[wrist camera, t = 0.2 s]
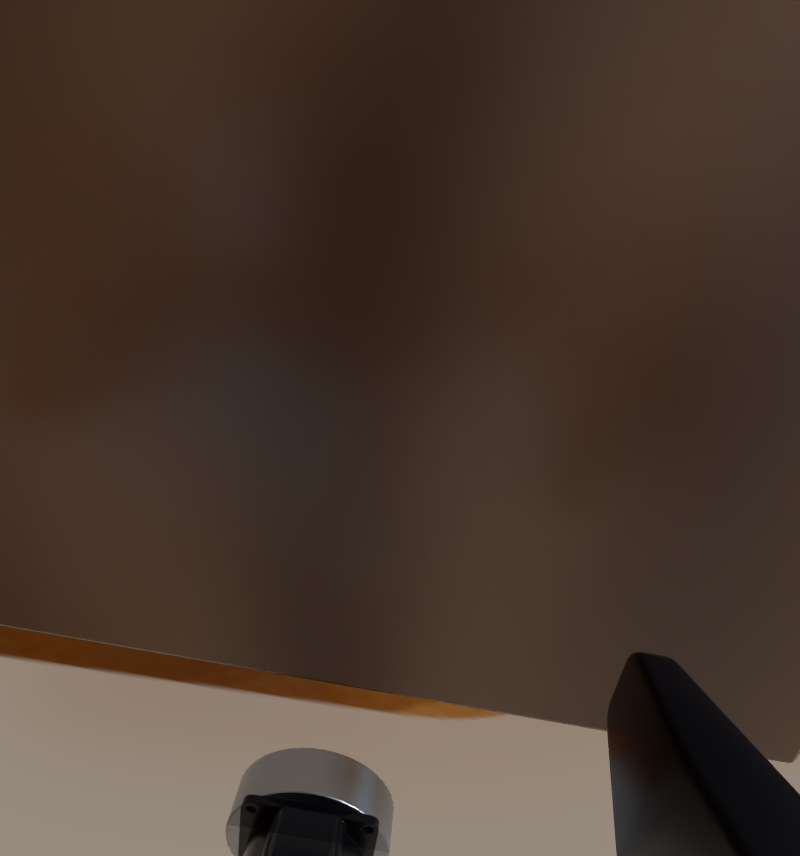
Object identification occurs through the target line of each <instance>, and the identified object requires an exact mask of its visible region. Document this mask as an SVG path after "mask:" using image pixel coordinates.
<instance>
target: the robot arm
mask: <svg viewBox="0 0 800 856" xmlns="http://www.w3.org/2000/svg"><path fill="white" fill-rule="evenodd" d="M607 732H608V746H609V760H610V772H611V785H612V797H613V798H612V799H613V813H614V825H615V839H616V851H617V856H800V794H799V793H798V792H797V791H796V790H795V789H794V788H793V787H792V786H791V785H790V784H789V783H788V782H787V780H786V779H785V778H784V777H783V776H782V775H781V774H780V773H779V772H778V771H777V770H776V769H775V768H774V767H773V765H772V764H771V763H770V762H769V761H768V760H767V759H766V758H765V757H764V756H763V755H762V753H761V752H760V751H759V750H758V749H757V748H756V747H755V746H754V745H753V744H752V743H751V742H750V741H749V739H748V738H747V737H746V736H745V735H744V734H743V733H742V732H741V731H740V730H739V729H738V728H737V727H736V725H735V724H734V723H733V722H732V721H731V720H730V719H729V718H728V717H727V716H726V715H725V714H724V712H723V711H722V710H721V709H720V708H719V707H718V706H717V705H716V704H715V703H714V702H713V701H712V700H711V698H710V697H709V696H708V695H707V694H706V693H705V692H704V691H703V690H702V689H701V688H700V687H699V686H698V684H697V683H696V682H695V681H694V680H693V679H692V678H691V677H690V676H689V675H688V674H687V673H686V672H685V670H684V669H683V668H682V667H681V666H680V665H679V664H678V663H677V662H676V661H675V660H673V659H672V658H670V657H667V656H662V655H656V654H650V653H644V652H634V653H632V654H631V655H630V656H629V657H628V659H627V661H626V663H625V666H624V668H623V671H622V673H621V676H620V678H619V681H618V683H617V686H616V688H615V691H614V693H613V696H612V698H611V701H610V704H609V708H608V714H607ZM378 832H379V820H378V819H377V818H376V817H375V816H372V815H367V814H361V813H356V812H350V811H344V810H339V809H333V808H327V807H322V806H316V805H310V804H305V803H299V802H294V801H288V800H282V799H277V798H271V797H265V796H260V795H254V794H249V795H246V796H245V797H244V799H243V802H242V805H241V811H240V829H239V847H238V856H374V851H375V846H376V841H377V837H378Z"/></svg>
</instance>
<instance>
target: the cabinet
mask: <svg viewBox="0 0 800 856" xmlns="http://www.w3.org/2000/svg"><path fill="white" fill-rule="evenodd" d="M0 625H1V626H6V627H12V628H18V629H24V630H29V631H35V632H41V633H47V634H52V635H58V636H64V637H69V638H75V639H81V640H87V641H92V642H98V643H104V644H110V645H115V646H121V647H127V648H133V649H138V650H144V651H150V652H156V653H161V654H167V655H173V656H178V657H184V658H190V659H196V660H201V661H207V662H213V663H219V664H224V665H230V666H236V667H242V668H247V669H253V670H259V671H265V672H270V673H276V674H282V675H287V676H293V677H299V678H305V679H310V680H316V681H322V682H328V683H333V684H339V685H345V686H351V687H356V688H362V689H368V690H374V691H379V692H385V693H391V694H397V695H402V696H408V697H414V698H419V699H425V700H431V701H437V702H442V703H448V704H454V705H460V706H465V707H471V708H477V709H483V710H488V711H494V712H500V713H506V714H511V715H517V716H523V717H528V718H534V719H541V720H546V721H551V722H557V723H563V724H569V725H575V726H580V727H586V728H592V729H597V730H603V731H607V714H608V708H609V704H610V701H611V698H612V696H613V693H614V691H615V688H616V686H617V683H618V681H619V678H620V676H621V673H622V671H623V668H624V666H625V663H626V661H627V659H628V657H629V656H630V655H631V654H632V653H634V652H644V653H650V654H656V655H662V656H667V657H670V658H672V659H673V660H675V661H676V662H677V663H678V664H679V665H680V666H681V667H682V668H683V669H684V670H685V672H686V673H687V674H688V675H689V676H690V677H691V678H692V679H693V680H694V681H695V682H696V683H697V684H698V686H699V687H700V688H701V689H702V690H703V691H704V692H705V693H706V694H707V695H708V696H709V697H710V698H711V700H712V701H713V702H714V703H715V704H716V705H717V706H718V707H719V708H720V709H721V710H722V711H723V712H724V714H725V715H726V716H727V717H728V718H729V719H730V720H731V721H732V722H733V723H734V724H735V725H736V727H737V728H738V729H739V730H740V731H741V732H742V733H743V734H744V735H745V736H746V737H747V738H748V739H749V741H750V742H751V743H752V744H753V745H754V746H755V747H756V748H757V749H758V750H759V751H760V752H761V753H762V755H763V756H764V757H765V758H766V759H769V760H776V761H781V762H787V763H790V762H793V761H795V760H796V758H797V757H798V755H799V753H800V0H0Z"/></svg>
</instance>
